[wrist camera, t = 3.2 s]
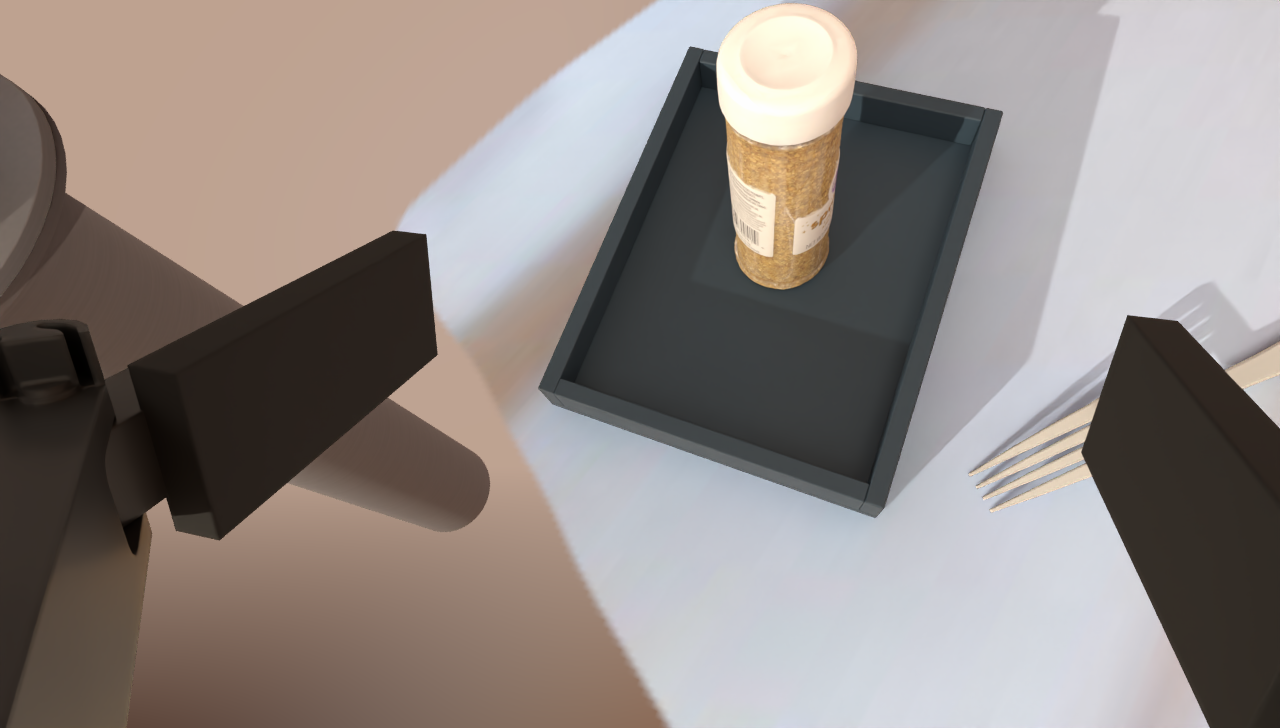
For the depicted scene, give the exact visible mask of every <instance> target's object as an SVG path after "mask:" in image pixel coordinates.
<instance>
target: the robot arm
mask: <svg viewBox="0 0 1280 728" xmlns="http://www.w3.org/2000/svg"><path fill="white" fill-rule="evenodd" d="M436 356H437V344H436V334H435V323H434V312H433V301H432V291H431V280H430V269H429V259H428V248H427V237H426V234H418V233H409V232H401V231H392V232H389V233H387V234H385V235H383V236H381V237H379V238H378V239H375V240H373V241H372V242H369V243H367V244H366V245H364V246H362V247H360V248H358V249H356V250H354V251H352V252H350V253H348V254H346V255H344V256H342V257H340V258H338V259H336V260H334V261H332V262H330V263H328V264H326V265H324V266H322V267H320V268H318V269H316V270H314V271H312V272H310V273H308V274H306V275H304V276H303V277H301V278H299V279H297V280H295V281H293V282H291V283H289V284H287V285H285V286H283V287H281V288H279V289H277V290H275V291H273V292H271V293H269V294H267V295H265V296H263V297H261V298H259V299H257V300H255V301H253V302H251V303H249V304H247V305H245V306H243V307H241V308H239V309H237V310H235V311H233V312H232V313H230V314H228V315H226V316H224V317H222V318H220V319H218V320H216V321H214V322H212V323H210V324H208V325H206V326H204V327H202V328H200V329H198V330H196V331H194V332H192V333H190V334H188V335H186V336H184V337H182V338H180V339H178V340H176V341H174V342H172V343H170V344H168V345H166V346H165V347H163V348H161V349H159V350H157V351H155V352H153V353H151V354H149V355H147V356H145V357H143V358H141V359H139V360H137V361H135V362H133V363H131V364H129V365H127V366H128V368H127V369H125V370H123V371H121V372H119V373H117V374H115V375H113V376H111V377H109V378H107V379H105V380H104V377H103V373H102V370H101V367H100V364H99V361H98V357H97V354H96V351H95V348H94V344H93V341H92V338H91V335H90V332H89V328H88V325H87V324H84V323H82V322H80V321H77V320H66V319H53V320H39V321H33V322H27V323H21V324H16V325H12V326H9V327H5V328H2V329H0V728H126V727H127V720H128V712H129V705H130V697H131V689H132V682H133V674H134V667H135V659H136V652H137V643H138V636H139V629H140V621H141V614H142V606H143V598H144V591H145V582H146V576H147V568H148V561H149V553H150V546H151V538H152V531H151V528H150V524H149V521H148V518H147V515H146V511H148V510H149V509H151V508H152V507H153V506H155V505H156V504H158V503H159V502H160V501H162V500H163V499H164V498H167V502H168V505H169V508H170V512H171V515H172V519H173V522H174V526H175V529H176V531H180V532H185V533H189V534H193V535H198V536H202V537H207V538H211V539H216V540H221V539H222V538H223V537H224V536H225V535H226V534H227V533H229V532H230V531H231V530H232V529H234V528H235V527H236V526H237V525H238V524H239V523H241V522H242V521H243V520H244V519H245V518H246V517H248V516H249V515H250V514H251V513H252V512H253V511H255V510H256V509H257V508H258V507H259V506H260V505H262V504H263V503H264V502H265V501H266V500H268V499H269V498H270V497H271V496H272V495H273V494H274V493H276V492H277V491H278V490H279V489H281V488H282V487H283V486H284V485H285V484H286V483H288V482H289V481H290V480H291V479H292V478H293V477H295V476H296V475H297V474H298V473H299V472H300V471H302V470H303V469H304V468H305V467H306V466H308V465H309V464H310V463H311V462H312V461H313V460H315V459H316V458H317V457H318V456H319V455H320V454H322V453H323V452H324V451H325V450H326V449H328V448H329V447H330V446H331V445H332V444H333V443H335V442H336V441H337V440H338V439H339V438H340V437H342V436H343V435H344V434H345V433H346V432H347V431H349V430H350V429H351V428H352V427H353V426H355V425H356V424H357V423H358V422H359V421H360V420H362V419H363V418H364V417H365V416H366V415H367V414H369V413H370V412H371V411H372V410H373V409H375V408H376V407H377V406H378V405H379V404H380V403H382V402H383V401H384V400H385V399H386V398H387V397H389V396H390V395H391V394H392V393H393V392H394V391H395V390H397V389H398V388H399V387H400V386H401V385H403V384H404V383H405V382H406V381H407V380H409V379H410V378H411V377H412V376H413V375H414V374H416V373H417V372H418V371H419V370H420V369H422V368H423V367H424V366H425V365H426V364H427V363H428V362H430V361H431V360H432V359H433V358H434V357H436ZM1081 453H1082V456H1083V458H1084V460H1085V462H1086V464H1087V466H1088V468H1089V471H1090V473H1091V475H1092V477H1093V479H1094V481H1095V483H1096V486H1097V488H1098V490H1099V492H1100V494H1101V496H1102V498H1103V500H1104V503H1105V505H1106V507H1107V509H1108V511H1109V513H1110V515H1111V518H1112V520H1113V522H1114V524H1115V526H1116V528H1117V530H1118V533H1119V535H1120V537H1121V539H1122V541H1123V543H1124V545H1125V547H1126V550H1127V552H1128V554H1129V556H1130V558H1131V560H1132V562H1133V565H1134V567H1135V569H1136V571H1137V573H1138V575H1139V577H1140V579H1141V582H1142V584H1143V586H1144V588H1145V590H1146V592H1147V594H1148V597H1149V599H1150V601H1151V603H1152V605H1153V607H1154V609H1155V612H1156V614H1157V616H1158V618H1159V620H1160V622H1161V624H1162V626H1163V629H1164V631H1165V633H1166V635H1167V637H1168V639H1169V641H1170V644H1171V646H1172V648H1173V650H1174V652H1175V654H1176V656H1177V659H1178V661H1179V663H1180V665H1181V667H1182V669H1183V671H1184V673H1185V676H1186V678H1187V680H1188V682H1189V684H1190V686H1191V688H1192V691H1193V693H1194V695H1195V697H1196V699H1197V701H1198V703H1199V706H1200V708H1201V710H1202V712H1203V714H1204V716H1205V718H1206V720H1207V723H1208V725H1209V727H1210V728H1280V428H1279V427H1278V426H1277V425H1276V424H1275V423H1274V422H1273V421H1272V420H1271V419H1270V418H1269V417H1268V416H1267V415H1266V414H1265V413H1264V411H1263V410H1262V409H1261V408H1260V407H1259V406H1258V405H1257V404H1256V403H1255V402H1254V401H1253V400H1252V399H1251V398H1250V397H1249V396H1248V395H1247V394H1246V392H1245V391H1244V390H1243V389H1242V388H1241V387H1240V386H1239V385H1238V384H1237V383H1236V382H1235V381H1234V380H1233V379H1232V378H1231V377H1230V376H1229V375H1228V374H1227V372H1226V371H1225V370H1224V369H1223V368H1222V367H1221V366H1220V365H1219V364H1218V363H1217V362H1216V361H1215V360H1214V359H1213V358H1212V357H1211V356H1210V355H1209V353H1208V352H1207V351H1206V350H1205V349H1204V348H1203V347H1202V346H1201V345H1200V344H1199V343H1198V342H1197V341H1196V340H1195V339H1194V338H1193V337H1192V336H1191V334H1190V333H1189V332H1188V331H1187V330H1186V329H1185V328H1184V327H1183V326H1182V325H1181V324H1180V323H1179V322H1178V321H1173V320H1164V319H1155V318H1147V317H1138V316H1129V315H1127V318H1126V321H1125V324H1124V327H1123V330H1122V333H1121V336H1120V339H1119V342H1118V345H1117V348H1116V351H1115V354H1114V357H1113V360H1112V363H1111V365H1110V368H1109V371H1108V374H1107V377H1106V380H1105V383H1104V386H1103V389H1102V392H1101V395H1100V398H1099V401H1098V404H1097V407H1096V410H1095V413H1094V416H1093V419H1092V422H1091V425H1090V428H1089V430H1088V433H1087V436H1086V439H1085V442H1084V445H1083V448H1082V451H1081Z"/></svg>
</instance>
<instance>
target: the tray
mask: <svg viewBox="0 0 1280 728" xmlns="http://www.w3.org/2000/svg"><path fill="white" fill-rule="evenodd" d="M717 57H718V52H713V51H708V50H703V49H700V48H695V47H689V49H688V51H687V54H686V56H685V58H684V60H683V63H682V65H681V67H680V69H679V72H678V74H677V76H676V78H675V81H674V83H673V85H672V87H671V90H670V92H669V94H668V96H667V99H666V101H665V103H664V106H663V108H662V110H661V112H660V115H659V117H658V119H657V121H656V124H655V126H654V128H653V130H652V133H651V135H650V137H649V139H648V142H647V144H646V146H645V148H644V151H643V153H642V155H641V157H640V160H639V162H638V164H637V166H636V169H635V171H634V173H633V175H632V178H631V180H630V182H629V184H628V187H627V189H626V191H625V194H624V196H623V198H622V200H621V203H620V205H619V207H618V209H617V212H616V214H615V216H614V218H613V221H612V223H611V225H610V227H609V230H608V232H607V234H606V236H605V239H604V241H603V243H602V245H601V248H600V250H599V252H598V254H597V257H596V259H595V261H594V263H593V266H592V268H591V270H590V273H589V275H588V277H587V279H586V282H585V284H584V286H583V288H582V291H581V293H580V295H579V297H578V300H577V302H576V304H575V306H574V309H573V311H572V313H571V315H570V318H569V320H568V322H567V324H566V327H565V329H564V331H563V333H562V336H561V338H560V340H559V342H558V345H557V347H556V349H555V351H554V354H553V356H552V358H551V361H550V363H549V365H548V367H547V370H546V372H545V374H544V376H543V379H542V381H541V383H540V385H539V388H538V389H539V390H540V391H541V392H542V393H543V394H544V395H545V396H546V397H547V399H548V400H549V401H550V402H551V403H552V404H554V405H556V406H559V407H562V408H565V409H568V410H571V411H573V412H576V413H579V414H582V415H585V416H588V417H590V418H593V419H596V420H599V421H602V422H605V423H607V424H610V425H613V426H616V427H619V428H622V429H624V430H627V431H630V432H633V433H636V434H639V435H641V436H644V437H647V438H650V439H653V440H656V441H658V442H661V443H664V444H667V445H670V446H673V447H675V448H678V449H681V450H684V451H687V452H690V453H692V454H695V455H698V456H701V457H704V458H707V459H709V460H712V461H715V462H718V463H721V464H724V465H726V466H729V467H732V468H735V469H738V470H741V471H743V472H746V473H749V474H752V475H755V476H758V477H760V478H763V479H766V480H769V481H772V482H775V483H777V484H780V485H783V486H786V487H789V488H792V489H794V490H797V491H800V492H803V493H806V494H809V495H811V496H814V497H817V498H820V499H823V500H826V501H828V502H831V503H834V504H837V505H840V506H843V507H845V508H848V509H851V510H854V511H857V512H860V513H862V514H865V515H868V516H871V517H874V518H876V517H877V516H878V514H879V513H880V512H881V511H882V510H883V509H884V507H885V504H886V500H887V497H888V494H889V490H890V487H891V484H892V480H893V477H894V474H895V471H896V467H897V464H898V461H899V457H900V454H901V451H902V447H903V444H904V441H905V437H906V434H907V431H908V427H909V424H910V421H911V417H912V414H913V411H914V407H915V404H916V401H917V397H918V394H919V391H920V387H921V384H922V381H923V377H924V374H925V371H926V367H927V364H928V361H929V358H930V354H931V351H932V348H933V344H934V341H935V338H936V334H937V331H938V328H939V324H940V321H941V318H942V314H943V311H944V308H945V304H946V301H947V298H948V294H949V291H950V288H951V284H952V281H953V278H954V274H955V271H956V268H957V264H958V261H959V258H960V254H961V251H962V248H963V244H964V241H965V238H966V235H967V231H968V228H969V225H970V221H971V218H972V215H973V211H974V208H975V205H976V201H977V198H978V195H979V191H980V188H981V185H982V181H983V178H984V175H985V171H986V168H987V165H988V161H989V158H990V155H991V151H992V148H993V145H994V141H995V138H996V135H997V131H998V128H999V125H1000V121H1001V118H1002V115H1003V112H1002V111H999V110H994V109H989V108H986V109H985V108H984V107H979V106H974V105H970V104H965V103H960V102H955V101H950V100H945V99H941V98H936V97H931V96H926V95H921V94H916V93H911V92H907V91H902V90H897V89H892V88H887V87H882V86H878V85H873V84H868V83H863V82H858V81H855V84H854V90H853V95H852V100H851V103H850V106H849V107H848V109H847V111H846V113H845V115H844V118H843V122H842V132H841V140H840V146H839V148H840V157H839V165H838V171H837V179H836V187H835V195H834V204H833V213H832V219H831V223H830V226H829V233H828V237H829V253H828V256H827V259H826V261H825V263H824V265H823V267H822V268H821V270H820V271H819V272H818V273H817V274H816V275H815V276H814V277H813V278H812V279H810V280H809V281H807V282H805V283H803V284H802V285H800V286H797V287H794V288H789V289H785V290H782V289H773V288H768V287H765V286H762V285H759V284H758V283H756V282H754V281H752V280H751V279H750V278H749V277H748V276H747V275H746V274H745V273H744V272H743V271H742V270H741V268H740V266H739V263H738V262H737V259H736V254H735V248H734V247H735V237H736V230H735V227H734V223H733V214H732V203H731V193H730V182H729V172H728V162H727V129H726V119H725V116H724V115H723V113H722V110H721V108H720V104H719V97H718V87H717Z"/></svg>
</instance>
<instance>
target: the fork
mask: <svg viewBox="0 0 1280 728" xmlns="http://www.w3.org/2000/svg"><path fill="white" fill-rule="evenodd" d="M1225 371H1226V372H1227V374H1228V375H1229V376H1230V377H1231V378H1232V379H1233V380H1234V381H1235V382H1236V383H1237V384H1238V385H1239V386H1240V387H1241V388H1242V389H1244V388H1247V387H1249V386H1252V385H1254V384H1257V383H1260V382H1262V381H1265V380H1267V379H1270V378H1272V377H1275V376H1278V375H1280V341H1279V342H1278V343H1276V344H1274V345H1272V346H1270V347H1269V348H1267V349H1265V350H1263V351H1261V352H1260V353H1258V354H1256V355H1254V356H1252V357H1250V358H1248V359H1246V360H1244V361H1242V362H1240V363H1238V364H1236V365H1234V366H1232V367H1230V368H1228V369H1226V370H1225ZM1098 401H1099V398H1098V399H1096V400H1094V401H1093V402H1091V403H1090V404H1088V405H1086V406H1084V407H1083V408H1081V409H1079V410H1077V411H1075V412H1073V413H1072V414H1070V415H1068V416H1066V417H1064V418H1062V419H1060V420H1059V421H1057V422H1055V423H1053V424H1052V425H1050V426H1048V427H1046V428H1045V429H1043V430H1041V431H1039V432H1038V433H1036V434H1034V435H1032V436H1031V437H1029V438H1027V439H1025V440H1024V441H1022V442H1020V443H1018V444H1017V445H1015V446H1013V447H1012V448H1010V449H1008V450H1007V451H1005V452H1003V453H1002V454H1000V455H998V456H997V457H995V458H994V459H992V460H990V461H989V462H987V463H985V464H984V465H982V466H980V467H979V468H977V469H976V470H974V471H972V472H971V473H969V476H973V475H975V474H977V473H979V472H981V471H983V470H986V469H988V468H990V467H992V466H994V465H997V464H999V463H1001V462H1003V461H1005V460H1007V459H1010V458H1012V457H1014V456H1016V455H1018V454H1020V453H1023V452H1025V451H1027V450H1029V449H1031V448H1034V447H1036V446H1038V445H1040V444H1042V443H1045V442H1047V441H1049V440H1051V439H1053V438H1056V437H1058V436H1060V435H1062V434H1064V433H1067V432H1069V431H1071V430H1073V429H1075V428H1078V427H1080V426H1082V425H1084V424H1086V423H1088V422H1091V421H1092V419H1093V416H1094V413H1095V410H1096V407H1097V404H1098ZM1089 428H1090V425H1089V426H1087V427H1085V428H1083V429H1081V430H1079V431H1077V432H1075V433H1073V434H1071V435H1069V436H1067V437H1065V438H1064V439H1062V440H1060V441H1058V442H1056V443H1054V444H1052V445H1050V446H1048V447H1046V448H1044V449H1042V450H1041V451H1039V452H1037V453H1035V454H1033V455H1031V456H1029V457H1027V458H1025V459H1023V460H1021V461H1020V462H1018V463H1016V464H1014V465H1012V466H1011V467H1009V468H1007V469H1005V470H1003V471H1002V472H1000V473H998V474H996V475H994V476H993V477H991V478H989V479H987V480H985V481H984V482H982V483H980V484H978V485H976V488H977V489H978V488H981V487H983V486H985V485H988V484H990V483H992V482H995V481H997V480H999V479H1002V478H1004V477H1006V476H1009V475H1011V474H1014V473H1016V472H1018V471H1021V470H1023V469H1025V468H1027V467H1030V466H1032V465H1034V464H1036V463H1039V462H1041V461H1043V460H1045V459H1047V458H1050V457H1052V456H1054V455H1056V454H1058V453H1061V452H1063V451H1065V450H1067V449H1070V448H1072V447H1074V446H1076V445H1078V444H1081V443H1083V442H1085V439H1086V436H1087V433H1088V430H1089ZM1082 448H1083V447H1081V448H1079V449H1077V450H1075V451H1073V452H1071V453H1069V454H1066V455H1064V456H1062V457H1060V458H1058V459H1056V460H1054V461H1052V462H1050V463H1048V464H1046V465H1044V466H1042V467H1040V468H1038V469H1036V470H1034V471H1031V472H1029V473H1028V474H1026V475H1024V476H1022V477H1020V478H1018V479H1016V480H1014V481H1012V482H1010V483H1008V484H1006V485H1004V486H1002V487H1001V488H999V489H997V490H995V491H993V492H991V493H989V494H987V495H985V496H983V497H982V498H983V500H985V499H988V498H991V497H993V496H996V495H998V494H1001V493H1003V492H1006V491H1008V490H1011V489H1013V488H1016V487H1018V486H1021V485H1023V484H1026V483H1029V482H1031V481H1034V480H1036V479H1038V478H1041V477H1043V476H1046V475H1048V474H1050V473H1053V472H1055V471H1058V470H1060V469H1062V468H1065V467H1067V466H1070V465H1072V464H1074V463H1077V462H1079V461H1081V460H1084V458H1083V456H1082V453H1081V451H1082ZM1089 477H1092V475H1091V473H1090V471H1089V468H1088V466H1087V464H1086V463H1085V464H1083V465H1081V466H1079V467H1076V468H1074V469H1072V470H1070V471H1068V472H1066V473H1064V474H1062V475H1060V476H1058V477H1056V478H1054V479H1051V480H1049V481H1047V482H1045V483H1043V484H1041V485H1039V486H1037V487H1035V488H1033V489H1031V490H1029V491H1027V492H1025V493H1023V494H1020V495H1018V496H1016V497H1014V498H1012V499H1010V500H1008V501H1006V502H1004V503H1002V504H1000V505H998V506H996V507H994V508H992V509H990V511H991V513H992V512H995V511H997V510H1000V509H1003V508H1006V507H1009V506H1012V505H1015V504H1018V503H1021V502H1023V501H1026V500H1029V499H1032V498H1035V497H1038V496H1041V495H1044V494H1046V493H1049V492H1052V491H1054V490H1057V489H1060V488H1062V487H1065V486H1068V485H1070V484H1073V483H1076V482H1078V481H1081V480H1084V479H1086V478H1089Z"/></svg>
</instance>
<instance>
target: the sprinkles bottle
mask: <svg viewBox="0 0 1280 728" xmlns="http://www.w3.org/2000/svg"><path fill="white" fill-rule="evenodd" d="M856 67H857V50H856V46H855V42H854V39H853V37H852V35H851V33H850V31H849V30H848V29H847V27H846V26H845V25H844V24H843V23H842V22H841V21H840V20H839V19H838V18H837V17H835V16H834V15H832V14H831V13H829V12H827V11H825V10H823V9H820V8H818V7H814V6H810V5H806V4H797V3H785V4H778V5H773V6H769V7H765V8H763V9H760V10H758V11H755V12H753V13H752V14H750V15H748V16H746V17H745V18H743V19H742V20H741V21H740V22H738V23H737V24H736V25H735V26H734V27H733V28H732V29H731V30H730V32H729V33H728V34H727V36H726V37H725V39H724V40H723V42H722V44H721V47H720V49H719V53H718V57H717V87H718V97H719V104H720V108H721V110H722V113H723V115H724V116H725V119H726V129H727V162H728V172H729V182H730V193H731V203H732V214H733V223H734V227H735V230H736V237H735V247H734V248H735V254H736V259H737V262H738V263H739V266H740V268H741V270H742V271H743V272H744V273H745V274H746V275H747V276H748V277H749V278H750V279H751V280H752V281H754V282H756V283H758V284H759V285H762V286H765V287H768V288H773V289H782V290H785V289H789V288H794V287H797V286H800V285H802V284H803V283H805V282H807V281H809V280H810V279H812V278H813V277H814V276H815V275H816V274H817V273H818V272H819V271H820V270H821V268H822V267H823V265H824V263H825V261H826V259H827V256H828V253H829V237H828V233H829V226H830V223H831V219H832V213H833V204H834V195H835V187H836V179H837V171H838V165H839V157H840V148H839V146H840V140H841V132H842V122H843V118H844V115H845V113H846V111H847V109H848V107H849V106H850V103H851V100H852V95H853V90H854V84H855V76H856Z"/></svg>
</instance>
